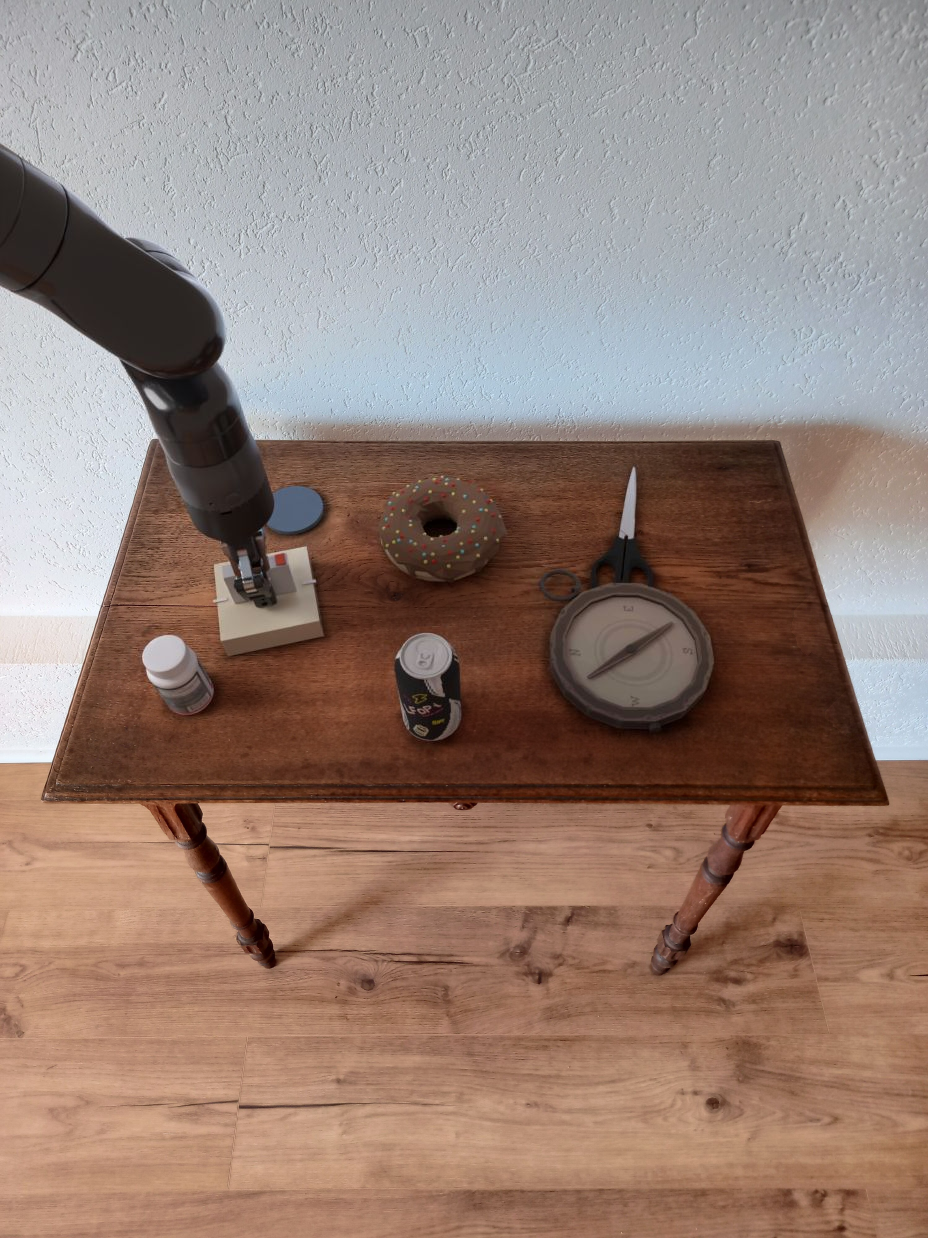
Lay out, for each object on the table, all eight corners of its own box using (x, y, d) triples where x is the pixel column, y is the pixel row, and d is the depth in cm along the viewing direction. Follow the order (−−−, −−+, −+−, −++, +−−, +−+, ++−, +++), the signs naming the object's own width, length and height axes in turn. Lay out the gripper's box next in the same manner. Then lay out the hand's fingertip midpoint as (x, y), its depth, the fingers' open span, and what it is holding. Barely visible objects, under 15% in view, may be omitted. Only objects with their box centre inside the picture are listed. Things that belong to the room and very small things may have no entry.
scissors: (602, 466, 97) (587, 602, 86) (602, 461, 96) (588, 598, 85) (658, 473, 96) (650, 611, 86) (659, 467, 95) (652, 606, 85)
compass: (730, 727, 78) (736, 719, 76) (563, 745, 77) (565, 736, 76) (679, 559, 89) (683, 548, 87) (532, 574, 88) (533, 563, 86)
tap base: (224, 657, 83) (216, 641, 81) (217, 581, 89) (209, 563, 86) (327, 635, 85) (322, 619, 82) (314, 562, 90) (309, 544, 87)
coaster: (266, 540, 92) (265, 536, 91) (260, 495, 96) (259, 491, 95) (327, 528, 93) (327, 524, 92) (319, 484, 96) (318, 480, 96)
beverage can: (396, 737, 78) (384, 676, 68) (412, 686, 81) (402, 621, 71) (454, 749, 77) (450, 689, 67) (467, 697, 80) (465, 633, 70)
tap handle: (234, 604, 83) (222, 576, 79) (233, 591, 84) (220, 564, 80) (297, 591, 84) (288, 563, 80) (295, 579, 85) (286, 551, 81)
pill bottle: (171, 675, 82) (143, 630, 75) (218, 674, 82) (193, 630, 75) (162, 716, 80) (132, 675, 73) (210, 716, 80) (184, 674, 73)
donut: (365, 578, 89) (359, 549, 85) (402, 487, 96) (398, 457, 92) (491, 604, 86) (491, 576, 82) (519, 510, 94) (521, 480, 90)
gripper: (172, 428, 73) (223, 547, 88) (180, 545, 66) (234, 654, 80) (255, 413, 74) (292, 533, 88) (272, 527, 66) (310, 638, 81)
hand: (264, 590), depth 84 cm, fingers closed
